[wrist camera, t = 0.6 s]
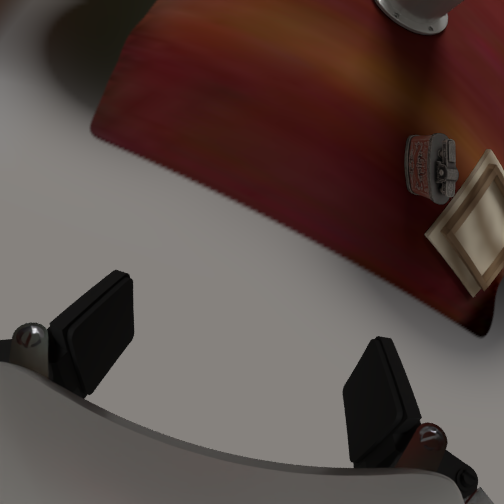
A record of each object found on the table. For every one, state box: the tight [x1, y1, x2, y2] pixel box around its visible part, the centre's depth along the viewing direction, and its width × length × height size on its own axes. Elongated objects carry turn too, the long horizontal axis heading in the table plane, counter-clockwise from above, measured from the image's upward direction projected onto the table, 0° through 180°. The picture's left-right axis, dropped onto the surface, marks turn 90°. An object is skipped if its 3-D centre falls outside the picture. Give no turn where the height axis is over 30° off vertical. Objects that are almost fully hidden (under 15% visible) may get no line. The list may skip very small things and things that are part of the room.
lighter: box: [405, 133, 459, 204], centre depth 26 cm, size 8×3×10 cm, turn 4°
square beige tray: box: [424, 149, 504, 297], centre depth 30 cm, size 18×16×3 cm
